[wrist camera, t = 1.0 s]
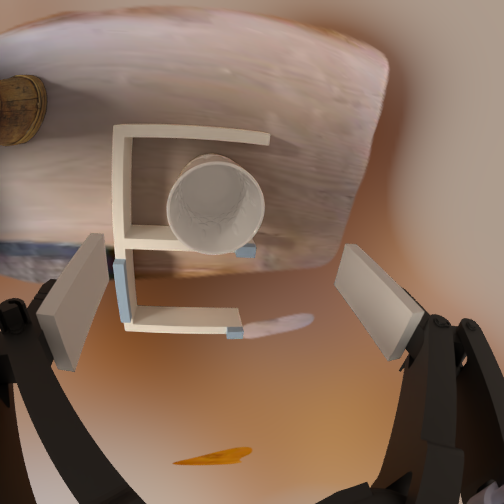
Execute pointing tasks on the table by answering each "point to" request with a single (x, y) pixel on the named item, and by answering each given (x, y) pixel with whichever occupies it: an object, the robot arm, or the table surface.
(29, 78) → the wooden mug
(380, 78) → the table surface
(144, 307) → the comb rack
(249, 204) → the white cup
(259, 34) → the table surface
